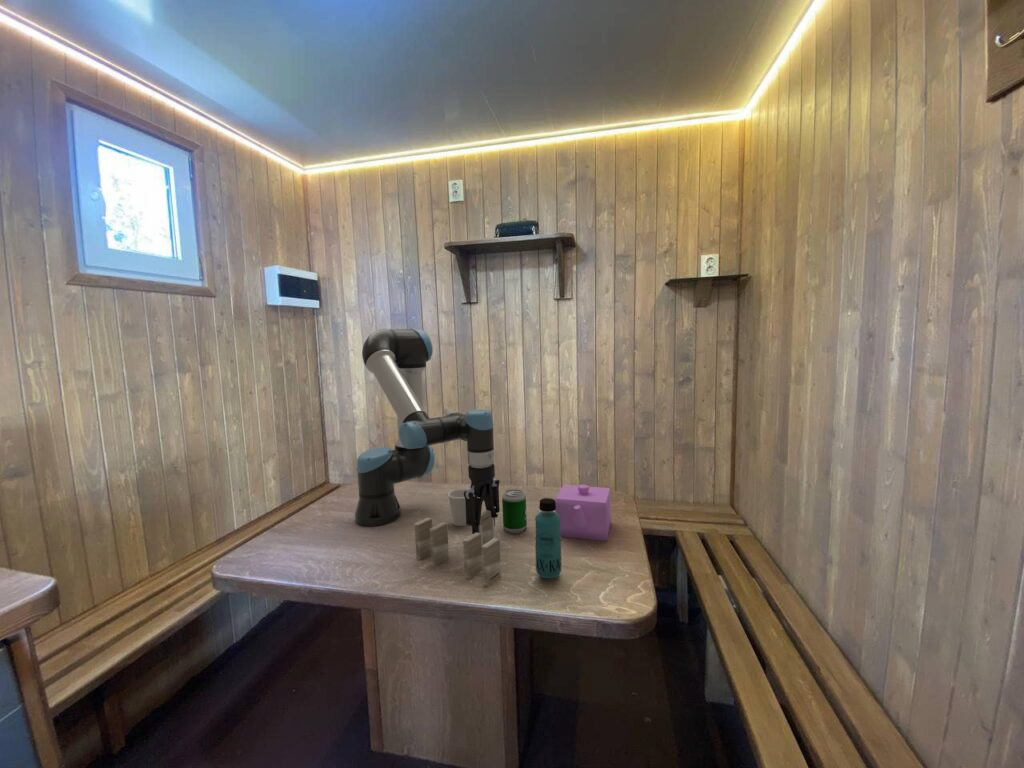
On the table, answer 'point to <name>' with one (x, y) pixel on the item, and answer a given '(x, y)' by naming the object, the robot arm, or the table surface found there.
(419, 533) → the domino
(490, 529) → the domino
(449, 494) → the dixie cup
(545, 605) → the table surface
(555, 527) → the beverage bottle
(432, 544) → the domino
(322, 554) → the table surface
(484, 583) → the domino
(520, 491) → the soda can
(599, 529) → the purple lidded box
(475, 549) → the domino
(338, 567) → the table surface
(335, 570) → the table surface
